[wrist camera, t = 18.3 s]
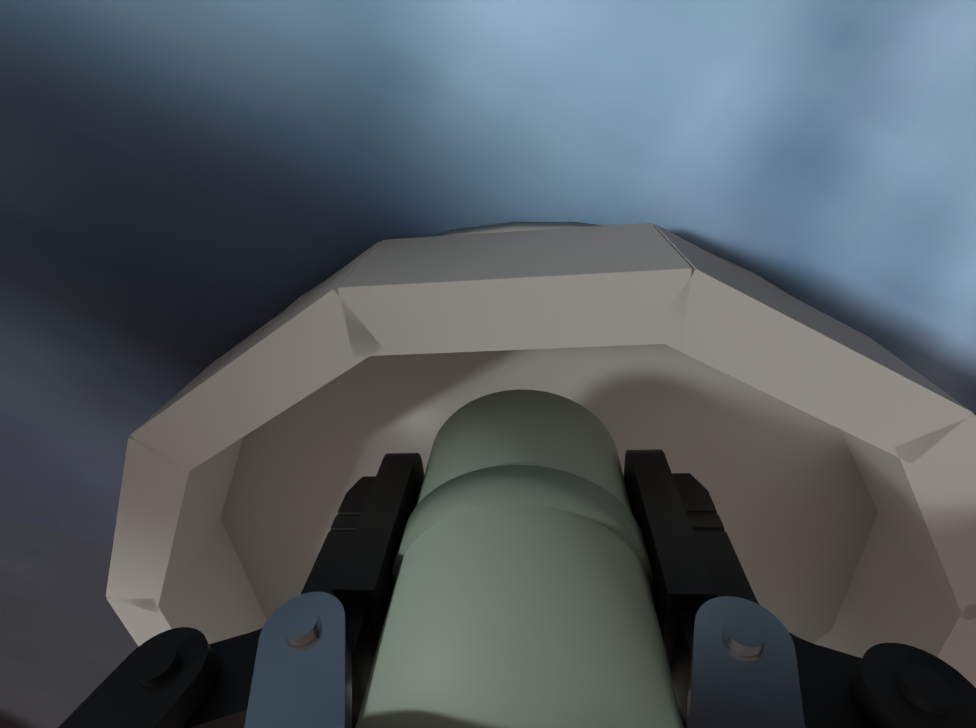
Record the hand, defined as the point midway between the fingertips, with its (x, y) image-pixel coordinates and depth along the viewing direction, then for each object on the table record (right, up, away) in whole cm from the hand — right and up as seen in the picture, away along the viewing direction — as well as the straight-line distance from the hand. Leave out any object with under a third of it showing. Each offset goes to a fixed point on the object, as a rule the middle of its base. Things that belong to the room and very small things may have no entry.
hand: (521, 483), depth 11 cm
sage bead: (0, 0, +1) cm, 1 cm away
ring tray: (+1, -4, +8) cm, 9 cm away
